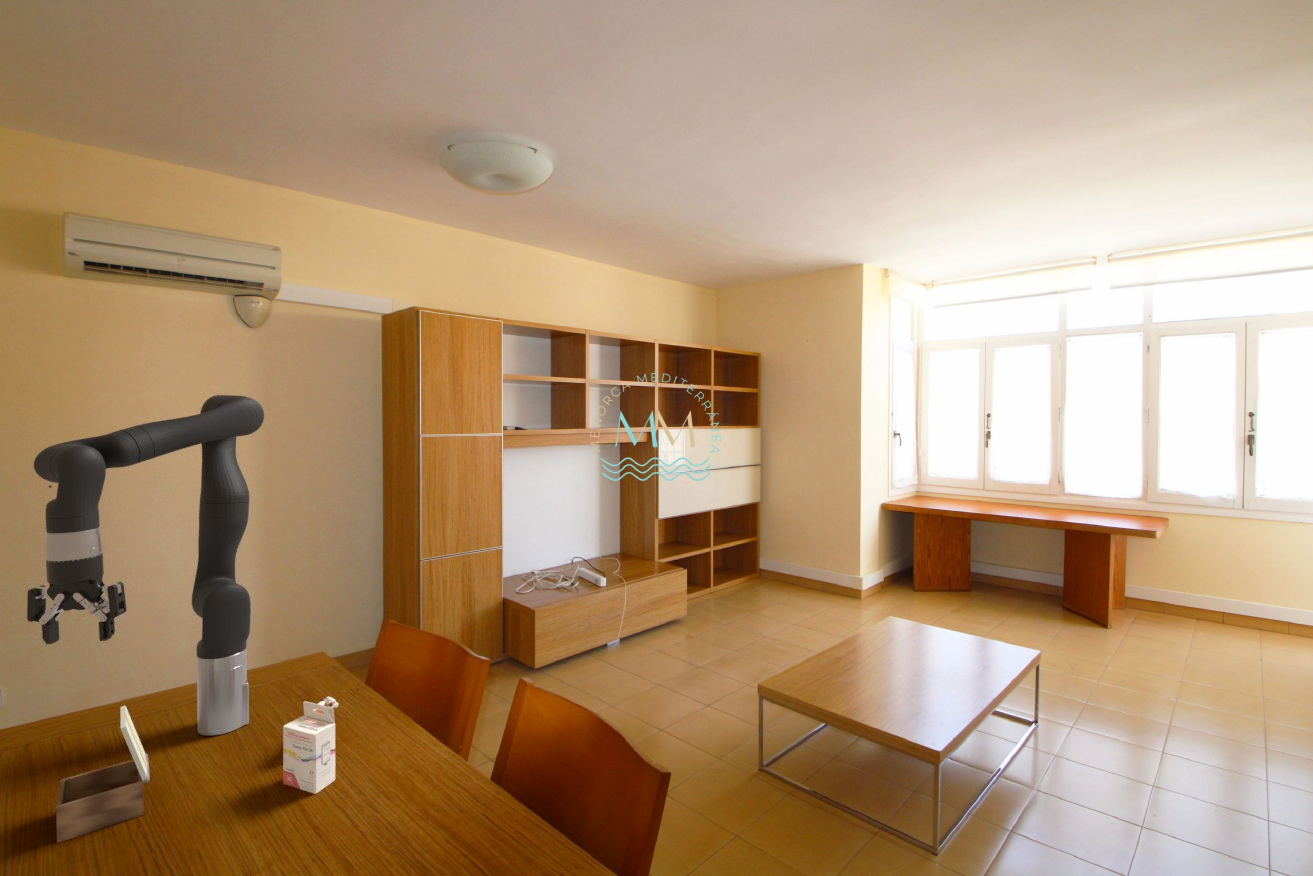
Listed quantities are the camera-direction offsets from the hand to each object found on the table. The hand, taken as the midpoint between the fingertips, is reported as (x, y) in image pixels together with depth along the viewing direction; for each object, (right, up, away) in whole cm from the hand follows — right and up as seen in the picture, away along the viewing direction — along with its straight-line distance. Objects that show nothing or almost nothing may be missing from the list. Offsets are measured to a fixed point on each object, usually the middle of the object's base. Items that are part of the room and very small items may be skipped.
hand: (79, 641), depth 112 cm
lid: (+11, -18, -1) cm, 21 cm away
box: (+7, -30, -4) cm, 31 cm away
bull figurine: (+32, -29, +20) cm, 48 cm away
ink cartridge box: (+39, -30, +7) cm, 49 cm away
